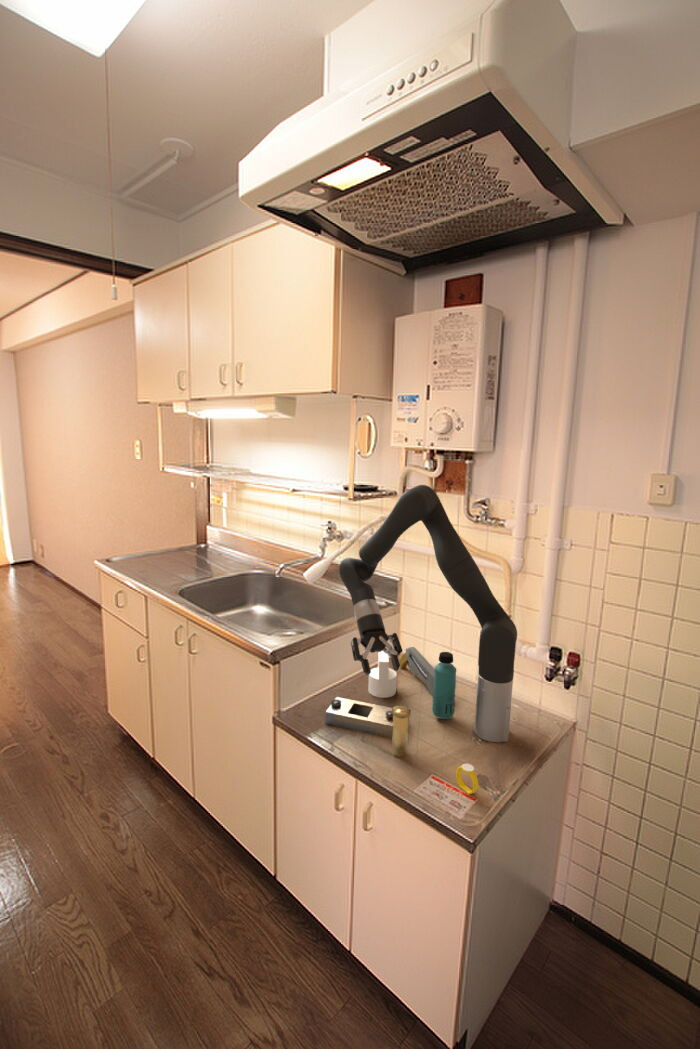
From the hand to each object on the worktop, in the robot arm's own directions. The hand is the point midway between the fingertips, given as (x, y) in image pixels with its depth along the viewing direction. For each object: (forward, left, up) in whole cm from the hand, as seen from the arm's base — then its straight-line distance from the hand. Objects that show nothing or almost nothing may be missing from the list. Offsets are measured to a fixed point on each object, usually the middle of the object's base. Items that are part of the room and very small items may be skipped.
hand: (382, 671), depth 139 cm
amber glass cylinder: (-8, +9, -17) cm, 21 cm away
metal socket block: (+5, -1, -17) cm, 18 cm away
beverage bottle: (-16, -12, -17) cm, 26 cm away
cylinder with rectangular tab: (+5, -21, -17) cm, 27 cm away
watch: (-26, +17, -17) cm, 35 cm away
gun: (-5, -31, -17) cm, 36 cm away
